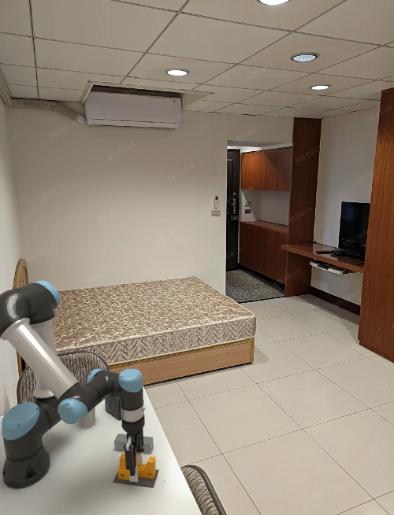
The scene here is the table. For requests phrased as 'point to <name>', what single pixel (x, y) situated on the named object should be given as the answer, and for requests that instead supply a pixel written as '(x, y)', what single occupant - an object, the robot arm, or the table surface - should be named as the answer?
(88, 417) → the cup
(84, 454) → the table surface
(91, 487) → the table surface
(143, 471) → the pipe clamp
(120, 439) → the grey rectangular bar
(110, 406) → the small box
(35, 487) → the table surface
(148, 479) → the pad
